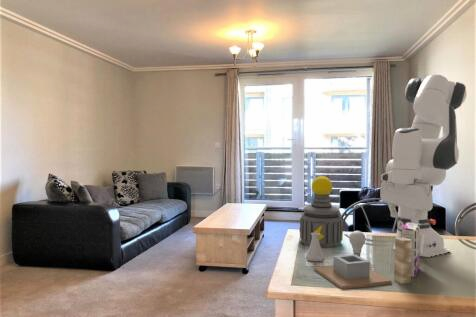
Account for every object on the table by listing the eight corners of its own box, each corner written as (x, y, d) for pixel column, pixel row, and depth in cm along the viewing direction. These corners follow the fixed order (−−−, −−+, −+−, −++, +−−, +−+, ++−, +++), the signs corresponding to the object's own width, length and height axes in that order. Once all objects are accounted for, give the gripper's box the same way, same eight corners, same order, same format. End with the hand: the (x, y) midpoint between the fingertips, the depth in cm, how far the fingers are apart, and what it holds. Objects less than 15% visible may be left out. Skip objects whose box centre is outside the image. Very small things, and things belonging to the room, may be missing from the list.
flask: (324, 262, 140) (325, 236, 140) (305, 261, 142) (305, 235, 141) (324, 257, 147) (324, 231, 147) (305, 255, 149) (305, 230, 148)
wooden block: (402, 278, 125) (404, 237, 124) (410, 282, 121) (411, 240, 121) (393, 279, 124) (395, 237, 123) (401, 283, 120) (402, 240, 120)
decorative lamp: (296, 246, 162) (298, 177, 161) (302, 235, 180) (303, 173, 179) (341, 250, 157) (343, 179, 156) (342, 239, 175) (344, 175, 174)
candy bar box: (404, 265, 138) (405, 221, 137) (419, 268, 135) (420, 223, 134) (399, 274, 128) (400, 227, 128) (415, 277, 126) (417, 229, 125)
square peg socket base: (358, 265, 137) (358, 249, 137) (391, 283, 120) (391, 265, 120) (314, 269, 132) (314, 253, 132) (341, 289, 115) (342, 270, 115)
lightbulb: (345, 259, 145) (346, 230, 145) (353, 255, 150) (353, 228, 149) (360, 262, 141) (361, 233, 140) (367, 259, 145) (368, 231, 145)
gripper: (439, 180, 112) (437, 226, 112) (392, 174, 131) (391, 214, 132) (421, 181, 110) (419, 227, 111) (377, 175, 130) (376, 214, 130)
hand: (404, 220), depth 121 cm, fingers open, 8 cm apart
